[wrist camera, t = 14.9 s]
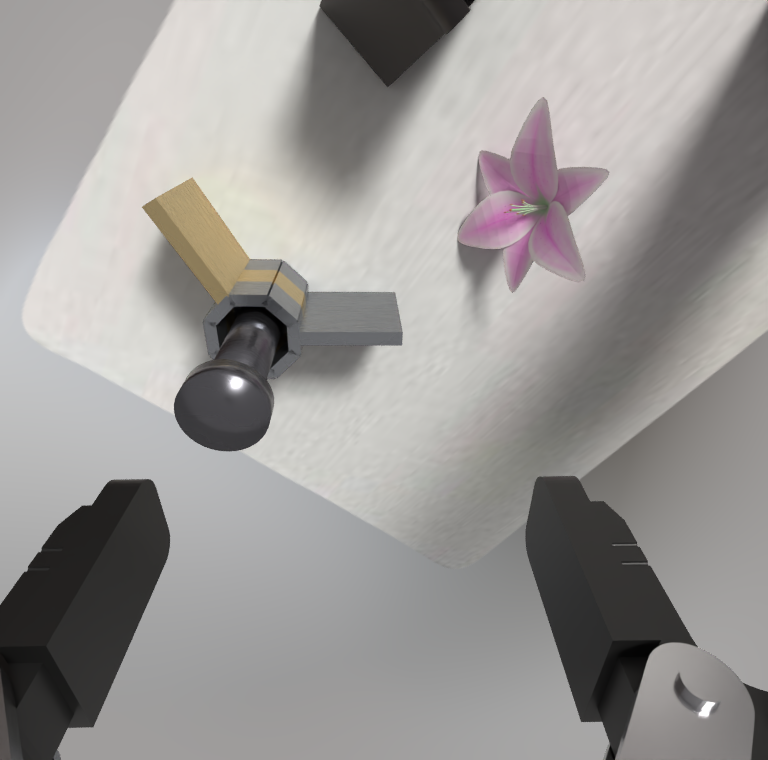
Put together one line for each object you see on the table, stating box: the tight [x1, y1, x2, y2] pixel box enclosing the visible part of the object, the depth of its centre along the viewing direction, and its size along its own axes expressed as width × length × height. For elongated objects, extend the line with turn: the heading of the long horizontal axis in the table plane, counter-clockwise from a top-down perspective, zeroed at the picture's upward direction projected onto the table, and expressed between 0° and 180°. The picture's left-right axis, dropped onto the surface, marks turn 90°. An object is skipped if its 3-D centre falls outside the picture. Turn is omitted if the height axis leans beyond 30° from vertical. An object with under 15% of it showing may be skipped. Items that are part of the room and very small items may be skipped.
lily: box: [457, 97, 609, 293], centre depth 34 cm, size 11×11×9 cm
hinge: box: [142, 178, 403, 379], centre depth 35 cm, size 15×12×8 cm
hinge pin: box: [174, 306, 284, 451], centre depth 33 cm, size 5×5×16 cm
